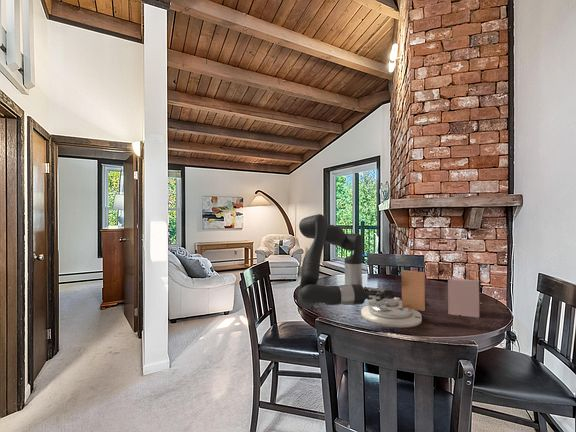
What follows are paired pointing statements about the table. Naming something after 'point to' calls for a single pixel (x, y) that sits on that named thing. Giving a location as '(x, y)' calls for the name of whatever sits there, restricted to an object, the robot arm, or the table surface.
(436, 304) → the table surface
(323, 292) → the robot arm
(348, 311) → the table surface
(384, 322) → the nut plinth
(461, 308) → the greeting card
